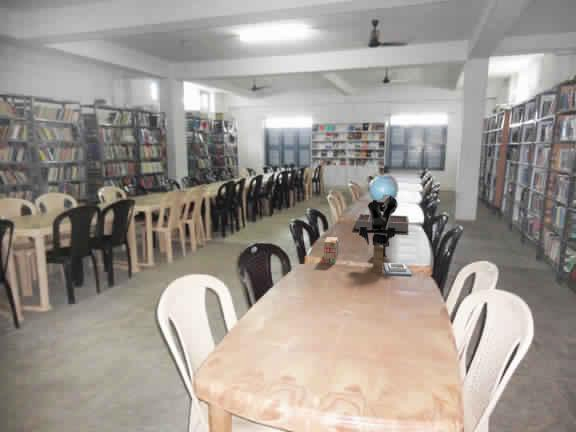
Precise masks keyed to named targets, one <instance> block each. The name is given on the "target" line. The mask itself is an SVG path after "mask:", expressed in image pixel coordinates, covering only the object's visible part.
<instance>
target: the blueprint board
mask: <svg viewBox="0 0 576 432" xmlns="http://www.w3.org/2000/svg"><path fill="white" fill-rule="evenodd" d="M383 267H384V271H385V274H386V275H387V276H401V277H402V276H406V277H407V276H408V277H412V275H413V274H412V272H411V270H410V268H409V266H408V265H407V263H401V262H383Z"/></svg>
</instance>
